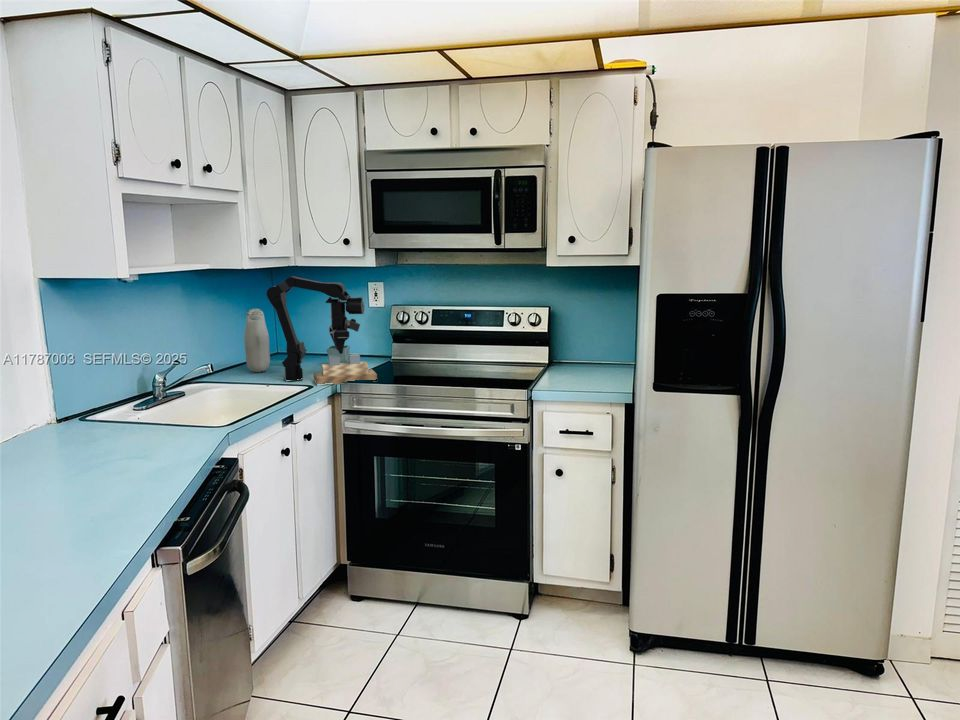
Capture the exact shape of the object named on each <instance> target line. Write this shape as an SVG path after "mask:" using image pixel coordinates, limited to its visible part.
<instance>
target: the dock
mask: <svg viewBox="0 0 960 720" xmlns="http://www.w3.org/2000/svg"><path fill="white" fill-rule="evenodd" d="M313 379H314V380H315V381H316V383H317V384H325V383H333V384H334V386H335V385H343V384H342V383H343V382H347V381H355V380H376V379H377V380H378V374H377V373H376V371H374V370H373V369H372V368H371V369H369V368H368V373H365V374H352V375H339V376H326V377H323V375H322V372H319V373H318V372H316V373H313ZM315 381H314V382H315ZM316 383H315V384H316Z"/></svg>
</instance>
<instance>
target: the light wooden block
mask: <svg viewBox="0 0 960 720" xmlns="http://www.w3.org/2000/svg"><path fill="white" fill-rule="evenodd" d="M368 369H369V364H368V362H367V361H360V364H352V365H350V364H349V362H347V363H340V365H337V366H330V365H329V363H325V364H324V363H323V364H321V373H322V375H323V377H326V376H339V375H352V374H365V373H368Z"/></svg>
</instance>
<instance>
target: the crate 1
mask: <svg viewBox="0 0 960 720" xmlns="http://www.w3.org/2000/svg"><path fill="white" fill-rule="evenodd" d="M328 364H329V365H330V366H337V365H340V356H339V355H334V356H329V359H328Z"/></svg>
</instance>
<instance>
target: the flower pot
mask: <svg viewBox="0 0 960 720" xmlns="http://www.w3.org/2000/svg"><path fill="white" fill-rule="evenodd" d="M350 349H351V347H350V345H349V344H347V345H345V344H344V348H343V353H342V354H340V353H339V351H338V350H337V349H336V347H335V345H330V346H329V347H327V348H326V353H327V358H328V360H329V356H334V355H339V356H340V363H349V355H350V351H351V350H350Z"/></svg>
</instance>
